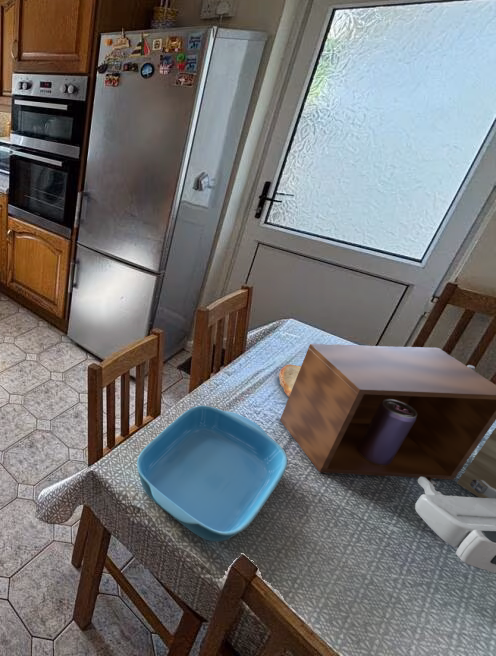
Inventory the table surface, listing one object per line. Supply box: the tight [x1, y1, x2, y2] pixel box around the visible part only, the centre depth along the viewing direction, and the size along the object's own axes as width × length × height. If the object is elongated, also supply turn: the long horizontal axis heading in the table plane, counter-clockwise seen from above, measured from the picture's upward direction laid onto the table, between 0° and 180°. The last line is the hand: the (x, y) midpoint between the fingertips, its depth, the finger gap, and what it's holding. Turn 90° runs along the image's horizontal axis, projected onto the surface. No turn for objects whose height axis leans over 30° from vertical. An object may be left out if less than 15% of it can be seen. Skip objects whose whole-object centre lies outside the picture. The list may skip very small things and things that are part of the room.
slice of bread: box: [278, 363, 302, 398], centre depth 117 cm, size 18×18×4 cm
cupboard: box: [279, 343, 496, 481], centre depth 95 cm, size 16×28×24 cm, turn 85°
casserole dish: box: [136, 405, 289, 542], centre depth 91 cm, size 37×22×7 cm, turn 128°
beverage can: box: [358, 399, 417, 465], centre depth 93 cm, size 6×6×15 cm
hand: (448, 480), depth 79 cm, fingers open, 8 cm apart
